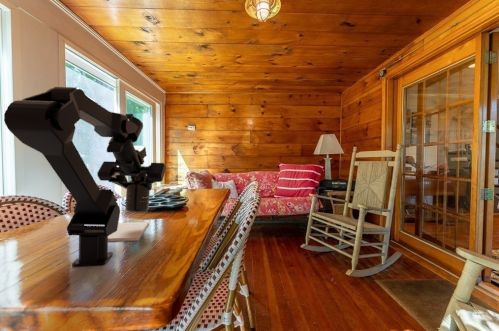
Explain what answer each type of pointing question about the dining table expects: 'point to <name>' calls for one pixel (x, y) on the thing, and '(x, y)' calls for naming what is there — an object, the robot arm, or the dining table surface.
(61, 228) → the dining table surface
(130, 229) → the pale grey mat
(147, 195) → the supplement bottle
